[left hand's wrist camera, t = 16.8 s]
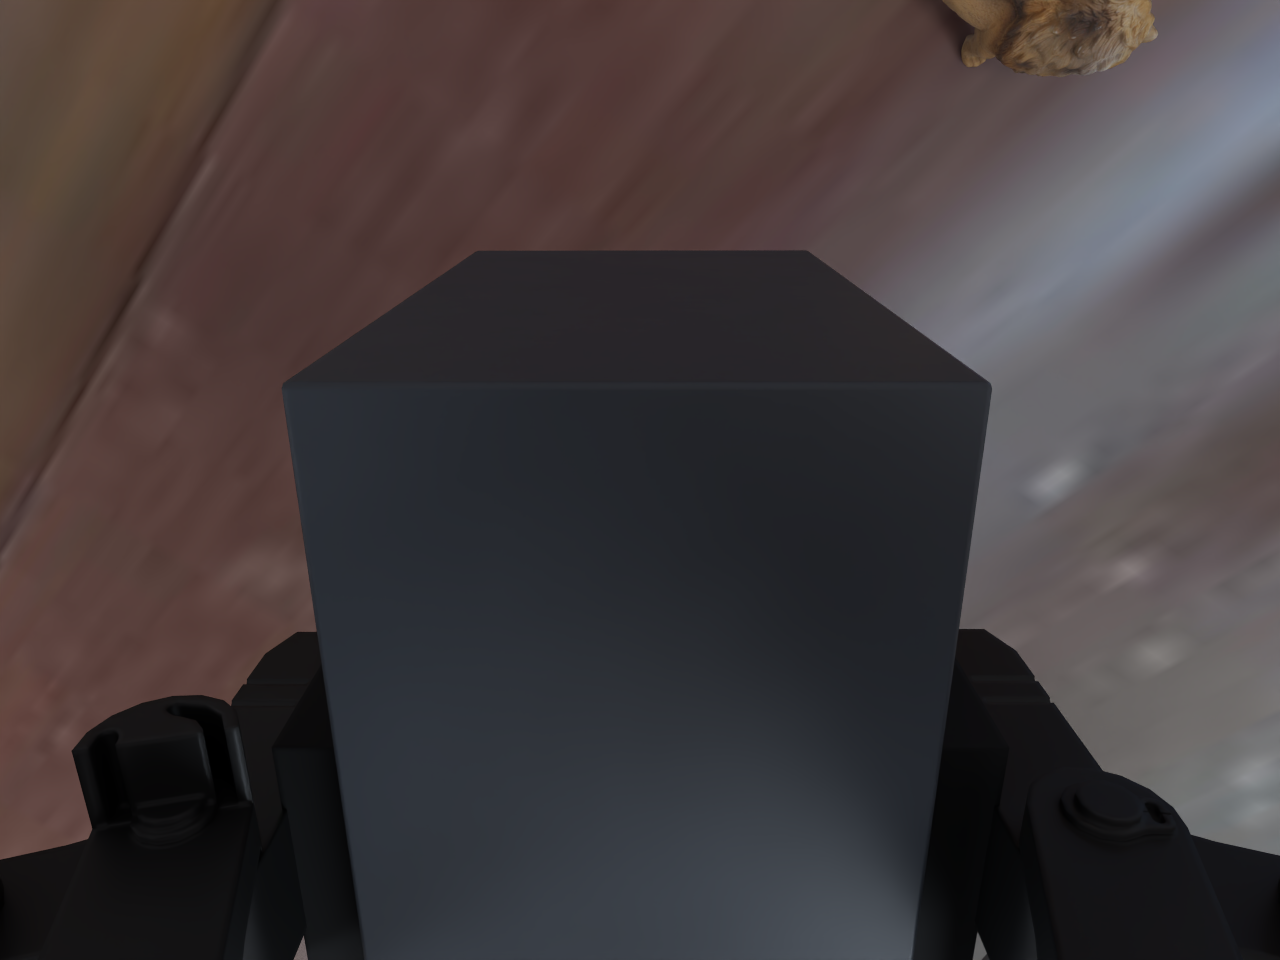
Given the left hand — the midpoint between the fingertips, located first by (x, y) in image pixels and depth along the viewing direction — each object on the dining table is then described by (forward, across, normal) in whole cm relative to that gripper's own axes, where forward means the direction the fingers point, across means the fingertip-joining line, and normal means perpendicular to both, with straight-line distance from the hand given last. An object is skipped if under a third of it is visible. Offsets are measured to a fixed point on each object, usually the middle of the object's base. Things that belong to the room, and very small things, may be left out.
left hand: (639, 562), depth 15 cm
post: (+1, 0, -31) cm, 31 cm away
